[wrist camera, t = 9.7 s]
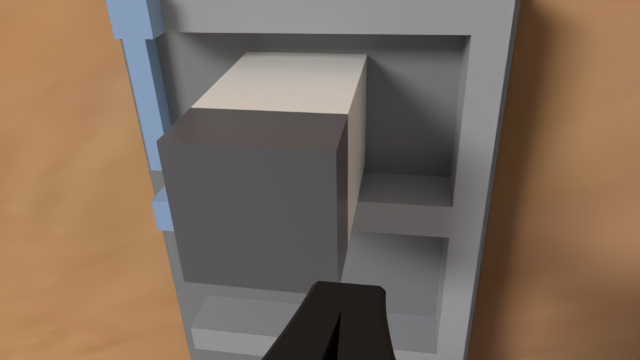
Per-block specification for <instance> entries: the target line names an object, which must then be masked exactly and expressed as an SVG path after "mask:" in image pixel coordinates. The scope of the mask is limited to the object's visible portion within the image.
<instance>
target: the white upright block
mask: <svg viewBox="0 0 640 360" xmlns="http://www.w3.org/2000/svg"><path fill="white" fill-rule="evenodd" d="M366 81H367V54H329V53H287V52H246V53H245V54H244V55H243V56H242V57H241V58H240V59H239V60H238V61H237V62H236V63H235V64H234V65H233V66H232V67H231V68H230V69H229V70H228V71H227V72H226V73H225V74H224V75H223V76H222V77H221V78H220V79H219V80H218V81H217V82H216V83H215V84H214V85H213V86H212V87H211V88H210V89H209V90H208V91H207V92H206V93H205V94H204V95H203V96H202V97H201V98H200V99H199V100H198V101H197V102H196V103H195V104H194V105H193V106H192V107H191V108H190V109H189V110H188V111H187V112H186V113H185V114H184V115H183V116H182V117H181V118H179V119H178V120H177V121H176V122H175V123H174V124H173V125H172V126H171V127H170V128H169V129H168V130H167V131H166V132H165V133H164V134H163V135H162V136H161V137H160V138H159V139H158V140H157V141H156V143H157V148H158V153H159V158H160V163H161V168H162V173H163V178H164V183H165V188H166V193H167V198H168V203H169V208H170V213H171V218H172V223H173V228H174V233H175V238H176V243H177V248H178V253H179V258H180V263H181V268H182V273H183V278H184V282H191V283H202V284H212V285H222V286H232V287H242V288H253V289H263V290H273V291H283V292H294V293H304V294H308V292H309V290H310V288H311V287H312V285H313V284H314V283H316V282H317V281H327V282H339V283H341V279H342V274H343V269H344V264H345V259H346V254H347V249H348V244H349V240H350V235H351V230H352V225H353V220H354V215H355V210H356V205H357V200H358V195H359V191H360V186H361V181H362V176H363V171H364V166H365V132H366Z"/></svg>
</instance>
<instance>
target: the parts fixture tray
mask: <svg viewBox="0 0 640 360" xmlns="http://www.w3.org/2000/svg"><path fill="white" fill-rule="evenodd" d="M520 3H521V0H106V4H107V8H108V13H109V17H110V22H111V26H112V30H113V35H114V39H120V40H121V45H122V49H123V54H124V59H125V63H126V68H127V72H128V77H129V81H130V86H131V90H132V95H133V99H134V104H135V108H136V113H137V117H138V122H139V126H140V131H141V135H142V140H143V144H144V149H145V153H146V158H147V163H148V167H149V172H150V176H151V181H152V185H153V190H154V194H155V197H154V199H153V200H152V201H151V203H152V207H153V211H154V216H155V220H156V225H157V229H158V230H160V231H163V235H164V239H165V244H166V248H167V253H168V257H169V262H170V266H171V271H172V276H173V280H174V285H175V289H176V294H177V298H178V303H179V307H180V312H181V316H182V321H183V325H184V330H185V334H186V339H187V343H188V348H189V352H190V357H191V360H261V359H262V358H263V357H264V355H265V354H266V353H267V351H268V350H269V349H270V347H271V346H272V345H273V343H274V342H275V341H276V339H277V338H278V337H279V335H280V334H281V333H282V331H283V330H284V329H285V327H286V326H287V324H288V323H289V321H290V320H291V318H292V317H293V316H294V314H295V313H296V311H297V310H298V308H299V307H300V305H301V303H302V302H303V300H304V299H305V297H306V295H307V294H304V293H294V292H283V291H273V290H263V289H253V288H242V287H232V286H222V285H212V284H202V283H191V282H184V278H183V273H182V268H181V263H180V258H179V253H178V248H177V243H176V238H175V233H174V228H173V223H172V218H171V213H170V208H169V203H168V198H167V193H166V188H165V183H164V178H163V173H162V168H161V163H160V158H159V153H158V148H157V143H156V141H157V140H158V139H159V138H160V137H161V136H162V135H163V134H164V133H165V132H166V131H167V130H168V129H169V128H170V127H171V126H172V125H173V124H174V123H175V122H176V121H177V120H178V119H179V118H181V117H182V116H183V115H184V114H185V113H186V112H187V111H188V110H189V109H190V108H191V107H192V106H193V105H194V104H195V103H196V102H197V101H198V100H199V99H200V98H201V97H202V96H203V95H204V94H205V93H206V92H207V91H208V90H209V89H210V88H211V87H212V86H213V85H214V84H215V83H216V82H217V81H218V80H219V79H220V78H221V77H222V76H223V75H224V74H225V73H226V72H227V71H228V70H229V69H230V68H231V67H232V66H233V65H234V64H235V63H236V62H237V61H238V60H239V59H240V58H241V57H242V56H243V55H244V54H245V53H246V52H287V53H329V54H367V81H366V132H365V166H364V171H363V176H362V181H361V186H360V191H359V195H358V200H357V205H356V210H355V215H354V220H353V225H352V230H351V235H350V240H349V244H348V249H347V254H346V259H345V264H344V269H343V274H342V279H341V283H351V284H363V285H375V286H381V287H382V288H383V289H384V290H385V291H386V312H387V320H388V327H389V332H390V337H391V342H392V346H393V350H394V355H395V358H396V360H467V355H468V348H469V341H470V335H471V328H472V322H473V315H474V308H475V302H476V295H477V288H478V282H479V275H480V269H481V262H482V255H483V249H484V242H485V235H486V229H487V222H488V215H489V209H490V202H491V196H492V189H493V182H494V176H495V169H496V162H497V156H498V149H499V142H500V136H501V129H502V123H503V116H504V109H505V103H506V96H507V89H508V83H509V76H510V70H511V63H512V56H513V50H514V43H515V36H516V30H517V23H518V16H519V10H520Z"/></svg>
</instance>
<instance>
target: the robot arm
mask: <svg viewBox="0 0 640 360" xmlns="http://www.w3.org/2000/svg"><path fill="white" fill-rule="evenodd" d="M261 360H396V358H395V355H394V350H393V346H392V342H391V337H390V332H389V327H388V320H387V312H386V291H385V290H384V289H383V288H382V287H381V286H375V285H363V284H351V283H339V282H327V281H317V282H316V283H314V284H313V285H312V287H311V288H310V290H309V292H308V294H307V295H306V297H305V299H304V300H303V302H302V303H301V305H300V307H299V308H298V310H297V311H296V313H295V314H294V316H293V317H292V318H291V320H290V321H289V323H288V324H287V326H286V327H285V329H284V330H283V331H282V333H281V334H280V335H279V337H278V338H277V339H276V341H275V342H274V343H273V345H272V346H271V347H270V349H269V350H268V351H267V353H266V354H265V355H264V357H263V358H262V359H261Z"/></svg>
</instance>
